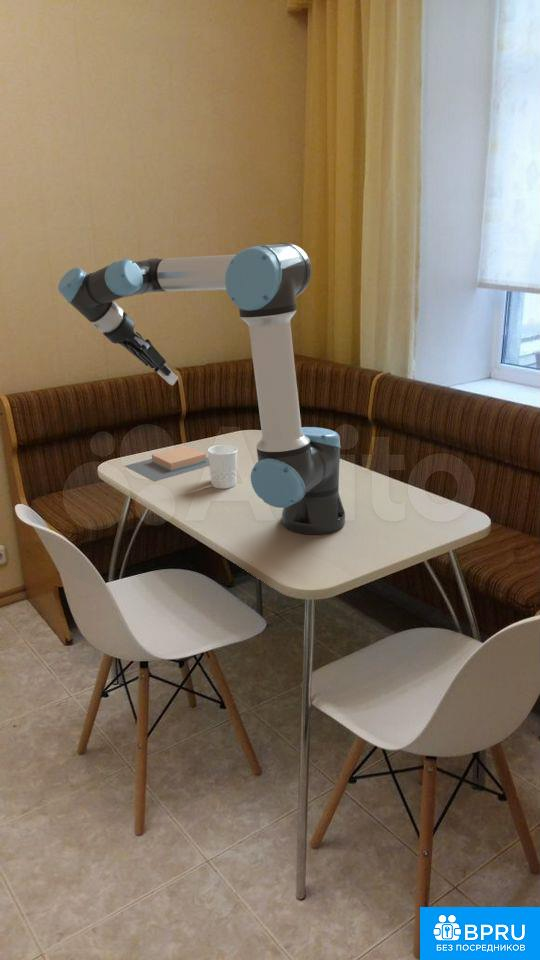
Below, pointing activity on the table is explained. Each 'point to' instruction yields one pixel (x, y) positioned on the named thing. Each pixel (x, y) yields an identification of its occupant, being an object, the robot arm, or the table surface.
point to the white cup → (223, 466)
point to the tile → (178, 458)
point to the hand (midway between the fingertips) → (174, 380)
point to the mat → (160, 469)
